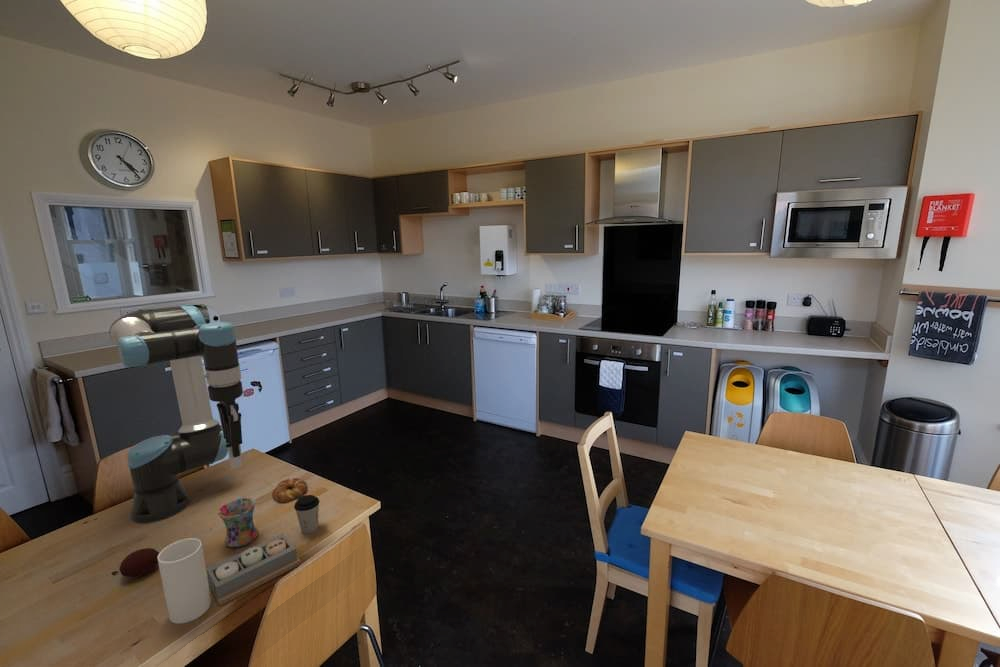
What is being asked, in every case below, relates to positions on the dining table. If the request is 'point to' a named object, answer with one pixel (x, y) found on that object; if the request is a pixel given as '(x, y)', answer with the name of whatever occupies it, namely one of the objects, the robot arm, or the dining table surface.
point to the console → (252, 572)
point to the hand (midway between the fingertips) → (236, 466)
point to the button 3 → (275, 547)
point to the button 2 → (251, 556)
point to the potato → (139, 562)
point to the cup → (184, 580)
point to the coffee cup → (307, 513)
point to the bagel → (289, 490)
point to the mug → (239, 521)
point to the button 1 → (226, 570)
